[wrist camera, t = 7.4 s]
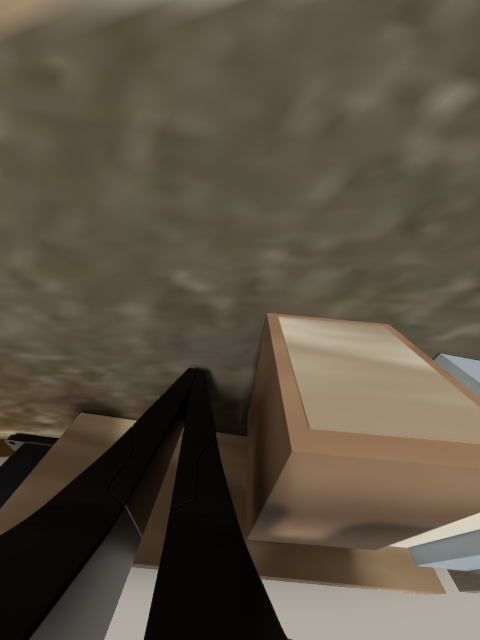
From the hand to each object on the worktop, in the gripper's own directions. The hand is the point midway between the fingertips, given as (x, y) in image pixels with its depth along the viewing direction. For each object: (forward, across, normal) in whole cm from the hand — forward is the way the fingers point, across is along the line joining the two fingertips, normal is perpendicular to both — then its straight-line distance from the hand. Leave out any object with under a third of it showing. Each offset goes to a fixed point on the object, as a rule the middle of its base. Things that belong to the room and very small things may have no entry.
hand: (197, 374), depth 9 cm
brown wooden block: (+1, -6, 0) cm, 6 cm away
